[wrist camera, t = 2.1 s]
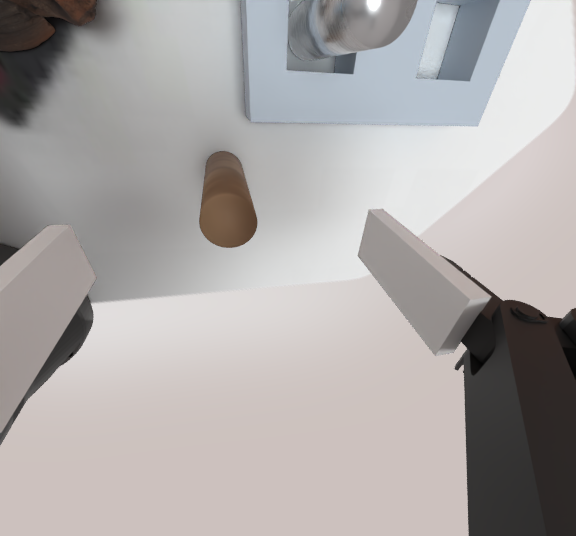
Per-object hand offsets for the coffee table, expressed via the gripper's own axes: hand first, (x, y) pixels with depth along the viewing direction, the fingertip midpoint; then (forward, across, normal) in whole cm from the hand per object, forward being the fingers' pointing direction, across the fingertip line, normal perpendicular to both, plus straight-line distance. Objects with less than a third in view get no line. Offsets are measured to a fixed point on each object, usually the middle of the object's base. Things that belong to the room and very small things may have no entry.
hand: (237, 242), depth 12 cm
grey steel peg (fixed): (+12, +6, +9) cm, 16 cm away
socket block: (+12, +10, +9) cm, 18 cm away
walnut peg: (+12, 0, 0) cm, 12 cm away
